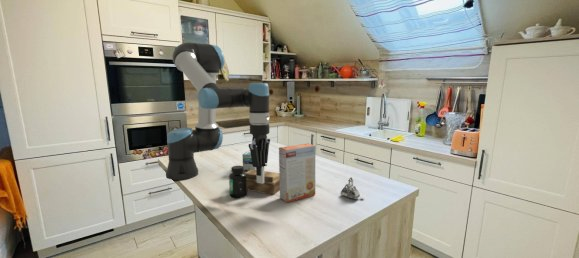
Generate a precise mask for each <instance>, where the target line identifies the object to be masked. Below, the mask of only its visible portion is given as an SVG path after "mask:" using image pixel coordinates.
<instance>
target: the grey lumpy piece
mask: <svg viewBox="0 0 579 258" xmlns="http://www.w3.org/2000/svg"><path fill="white" fill-rule="evenodd" d="M353 179H354V178H353V177H350V178H349V179H348V183H346V184H345V185H344V187H342V189H341V191H340V193H339V194H340V195H342V196H344V197H348V198H349V199H350V198H351V199H354V200H356V199H358V198H360V199H365V196H363V195H362V196H361V193H360V192H359V189H358V188H357V187H356V185H354V180H353Z"/></svg>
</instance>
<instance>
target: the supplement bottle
mask: <svg viewBox="0 0 579 258" xmlns="http://www.w3.org/2000/svg"><path fill="white" fill-rule="evenodd" d="M228 177H229V178H228V181H229V197H231V198H232V199H242V198H245V197H246V196H247V195H248V193H247V192H248V190H247V180H246V174H245V173H244V167H243V165H233V166H231V173H230V174H229V176H228Z"/></svg>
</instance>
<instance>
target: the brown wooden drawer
mask: <svg viewBox="0 0 579 258" xmlns="http://www.w3.org/2000/svg"><path fill="white" fill-rule="evenodd" d="M247 191H251V192H257V193H263V194H269V195H276V194H277V193H278V192H280V181H279V182H277V183H276V184H274V185H273V184H267V183H263V184H261V183H257V182H254V181H248V180H247Z"/></svg>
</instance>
